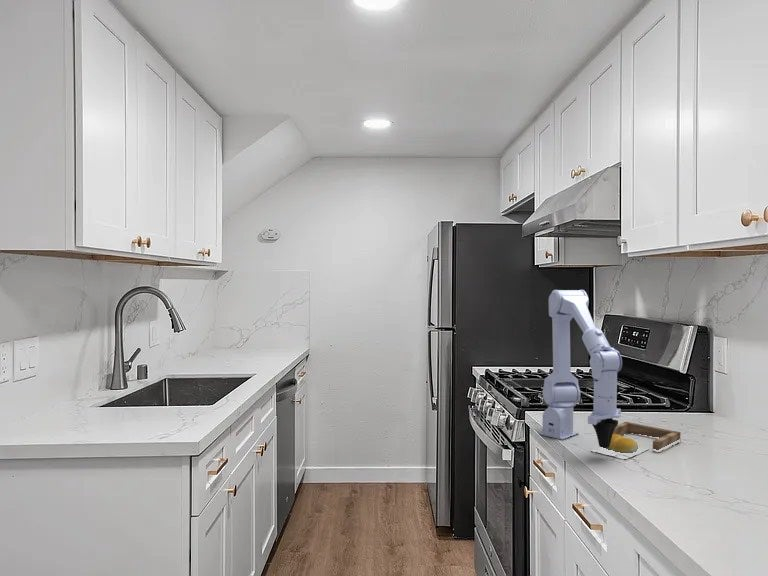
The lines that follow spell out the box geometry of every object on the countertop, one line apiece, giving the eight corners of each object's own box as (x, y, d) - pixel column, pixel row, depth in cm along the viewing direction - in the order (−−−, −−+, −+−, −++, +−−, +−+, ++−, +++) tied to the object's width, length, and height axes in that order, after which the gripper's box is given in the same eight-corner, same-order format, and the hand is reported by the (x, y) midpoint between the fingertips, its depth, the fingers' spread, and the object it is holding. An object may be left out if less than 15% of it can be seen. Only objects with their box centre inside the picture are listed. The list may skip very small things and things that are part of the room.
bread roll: (625, 456, 163) (626, 441, 162) (597, 448, 170) (598, 433, 170) (644, 451, 167) (645, 437, 167) (616, 443, 175) (617, 429, 174)
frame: (658, 453, 167) (658, 442, 167) (602, 440, 178) (602, 430, 178) (680, 442, 177) (680, 432, 177) (625, 431, 189) (625, 421, 189)
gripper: (606, 402, 154) (605, 455, 154) (632, 394, 164) (631, 444, 164) (580, 397, 159) (579, 449, 159) (606, 390, 169) (606, 439, 169)
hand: (604, 447), depth 162 cm, fingers closed
